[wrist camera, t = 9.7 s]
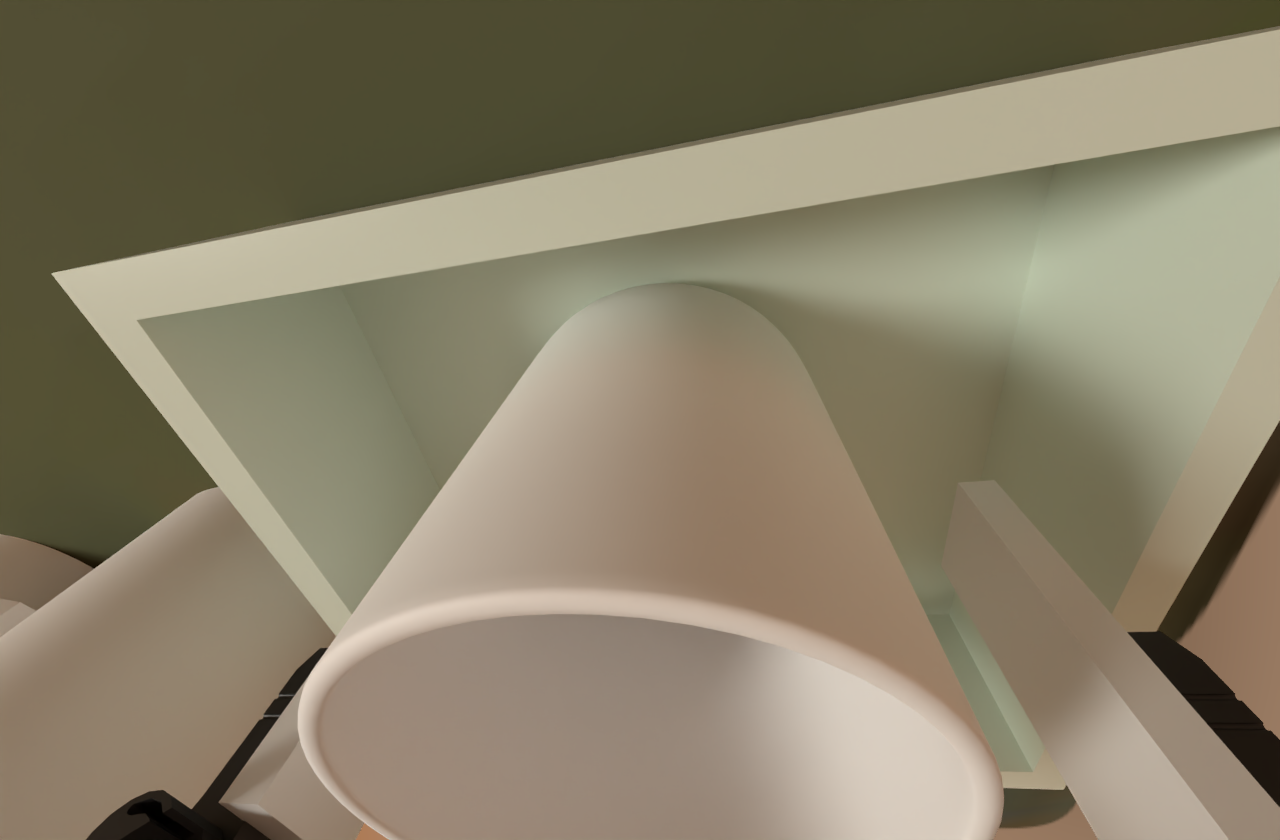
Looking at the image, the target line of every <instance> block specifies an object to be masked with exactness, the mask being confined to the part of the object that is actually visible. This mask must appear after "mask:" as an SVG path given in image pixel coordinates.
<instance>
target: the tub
mask: <svg viewBox="0 0 1280 840" xmlns="http://www.w3.org/2000/svg"><path fill="white" fill-rule="evenodd" d="M51 274H52V275H53V276H54V278H55V279H56V280H57V281H58V283H59V284H60V285H61V287H62V288H63V289H64V290H65V292H66V293H67V294H68V295H69V297H70V298H71V299H72V301H73V302H74V303H75V304H76V306H77V307H78V308H79V309H80V311H81V312H82V313H83V315H84V316H85V317H86V318H87V320H88V321H89V322H90V323H91V325H92V326H93V327H94V329H95V330H96V331H97V332H98V334H99V335H100V336H101V337H102V339H103V340H104V341H105V343H106V344H107V345H108V346H109V348H110V349H111V350H112V352H113V353H114V354H115V355H116V357H117V358H118V359H119V360H120V362H121V363H122V364H123V366H124V367H125V368H126V369H127V371H128V372H129V373H130V374H131V376H132V377H133V378H134V380H135V381H136V382H137V383H138V385H139V386H140V387H141V388H142V390H143V391H144V392H145V394H146V395H147V396H148V397H149V399H150V400H151V401H152V402H153V404H154V405H155V406H156V408H157V409H158V410H159V411H160V413H161V414H162V415H163V416H164V418H165V419H166V420H167V422H168V423H169V424H170V425H171V427H172V428H173V429H174V430H175V432H176V433H177V434H178V436H179V437H180V438H181V439H182V441H183V442H184V443H185V444H186V446H187V447H188V448H189V450H190V451H191V452H192V453H193V455H194V456H195V457H196V458H197V460H198V461H199V462H200V464H201V465H202V466H203V467H204V469H205V470H206V471H207V472H208V474H209V475H210V476H211V478H212V479H213V480H214V481H215V483H216V484H217V485H218V486H219V488H220V489H221V490H222V492H223V493H224V494H225V495H226V497H227V498H228V499H229V500H230V502H231V503H232V504H233V506H234V507H235V508H236V509H237V511H238V512H239V513H240V514H241V516H242V517H243V518H244V520H245V521H246V522H247V523H248V525H249V526H250V527H251V528H252V530H253V531H254V532H255V534H256V535H257V536H258V537H259V539H260V540H261V541H262V542H263V544H264V545H265V546H266V548H267V549H268V550H269V551H270V553H271V554H272V555H273V556H274V558H275V559H276V560H277V562H278V563H279V564H280V565H281V567H282V568H283V569H284V570H285V572H286V573H287V574H288V576H289V577H290V578H291V579H292V581H293V582H294V583H295V584H296V586H297V587H298V588H299V590H300V591H301V592H302V593H303V595H304V596H305V597H306V598H307V600H308V601H309V602H310V604H311V605H312V606H313V607H314V609H315V610H316V611H317V613H318V614H319V615H320V616H321V618H322V619H323V620H324V621H325V623H326V624H327V625H328V627H329V628H330V629H331V630H332V632H333V633H334V634H335V635H336V636H337V635H338V633H339V632H340V631H341V629H342V628H343V626H344V625H345V624H346V622H347V621H348V619H349V618H350V617H351V615H352V614H353V612H354V611H355V610H356V608H357V607H358V605H359V604H360V603H361V601H362V600H363V598H364V597H365V596H366V594H367V593H368V591H369V590H370V589H371V587H372V586H373V584H374V583H375V582H376V580H377V579H378V577H379V576H380V575H381V573H382V572H383V570H384V569H385V568H386V566H387V565H388V563H389V562H390V561H391V559H392V558H393V556H394V555H395V554H396V552H397V551H398V549H399V548H400V547H401V545H402V544H403V542H404V541H405V540H406V538H407V537H408V535H409V534H410V533H411V531H412V530H413V528H414V527H415V526H416V524H417V523H418V521H419V520H420V519H421V517H422V516H423V514H424V513H425V512H426V510H427V509H428V507H429V506H430V505H431V503H432V502H433V500H434V499H435V498H436V496H437V495H438V493H439V492H440V491H441V489H442V488H443V486H444V485H445V484H446V482H447V481H448V479H449V478H450V477H451V475H452V474H453V472H454V471H455V470H456V468H457V467H458V465H459V464H460V463H461V461H462V460H463V458H464V457H465V456H466V454H467V453H468V451H469V450H470V449H471V447H472V446H473V444H474V443H475V442H476V440H477V439H478V437H479V436H480V435H481V433H482V432H483V430H484V429H485V428H486V426H487V425H488V423H489V422H490V421H491V419H492V418H493V416H494V415H495V414H496V412H497V411H498V409H499V408H500V407H501V405H502V404H503V402H504V401H505V400H506V398H507V397H508V395H509V394H510V393H511V391H512V390H513V388H514V387H515V386H516V384H517V383H518V381H519V380H520V379H521V377H522V376H523V374H524V373H525V372H526V370H527V369H528V367H529V366H530V365H531V363H532V362H533V360H534V359H535V358H536V356H537V355H538V354H539V352H540V351H541V350H542V348H543V347H544V346H545V344H546V343H547V342H548V340H549V339H550V338H551V337H552V336H553V335H554V333H555V332H556V331H557V330H558V329H559V328H560V327H561V326H562V325H563V324H564V323H565V322H566V321H568V320H569V319H570V318H571V317H572V316H573V315H575V314H576V313H577V312H579V311H580V310H582V309H583V308H585V307H586V306H588V305H589V304H591V303H593V302H595V301H597V300H599V299H600V298H602V297H604V296H607V295H609V294H612V293H614V292H617V291H620V290H624V289H627V288H630V287H635V286H641V285H646V284H657V283H679V284H688V285H695V286H700V287H704V288H709V289H712V290H715V291H718V292H721V293H724V294H727V295H729V296H731V297H733V298H736V299H738V300H740V301H741V302H743V303H745V304H747V305H748V306H750V307H752V308H753V309H755V310H756V311H757V312H759V313H760V314H761V315H763V316H764V317H765V318H766V319H767V320H769V321H770V322H771V323H772V324H773V325H774V326H775V327H776V328H777V329H778V330H779V331H780V332H781V333H782V334H783V335H784V336H785V338H786V339H787V340H788V341H789V343H790V344H791V345H792V347H793V348H794V350H795V351H796V353H797V354H798V356H799V357H800V359H801V361H802V363H803V364H804V366H805V368H806V370H807V372H808V374H809V376H810V378H811V380H812V382H813V384H814V386H815V388H816V390H817V392H818V394H819V396H820V398H821V400H822V402H823V404H824V406H825V408H826V410H827V412H828V414H829V416H830V419H831V421H832V423H833V425H834V427H835V429H836V431H837V433H838V435H839V437H840V439H841V441H842V443H843V445H844V447H845V449H846V451H847V453H848V455H849V458H850V460H851V462H852V464H853V466H854V468H855V470H856V472H857V474H858V476H859V478H860V480H861V482H862V484H863V486H864V488H865V490H866V492H867V494H868V497H869V499H870V501H871V503H872V505H873V507H874V509H875V511H876V513H877V515H878V517H879V519H880V521H881V523H882V525H883V527H884V529H885V531H886V533H887V536H888V538H889V540H890V542H891V544H892V546H893V548H894V550H895V552H896V554H897V556H898V558H899V560H900V562H901V564H902V566H903V568H904V570H905V572H906V575H907V577H908V579H909V581H910V583H911V585H912V587H913V589H914V591H915V593H916V595H917V597H918V599H919V601H920V603H921V605H922V607H923V609H924V611H925V614H926V616H927V618H928V620H929V622H930V624H931V626H932V628H933V630H934V632H935V634H936V636H937V638H938V640H939V642H940V644H941V646H942V648H943V650H944V653H945V655H946V657H947V659H948V661H949V663H950V665H951V667H952V669H953V671H954V673H955V675H956V677H957V679H958V681H959V683H960V685H961V687H962V689H963V692H964V694H965V696H966V698H967V700H968V702H969V704H970V706H971V708H972V710H973V712H974V714H975V716H976V718H977V720H978V722H979V724H980V726H981V728H982V731H983V733H984V735H985V737H986V739H987V741H988V743H989V745H990V747H991V749H992V751H993V753H994V755H995V757H996V760H997V763H998V766H999V769H1000V772H1001V775H1002V782H1003V788H1024V789H1056V790H1064V788H1065V786H1066V785H1067V784H1066V783H1065V781H1064V779H1063V777H1062V776H1061V774H1060V772H1059V770H1058V769H1057V767H1056V765H1055V763H1054V762H1053V760H1052V758H1051V757H1050V755H1049V753H1048V751H1047V750H1046V748H1045V746H1044V744H1043V743H1042V741H1041V739H1040V737H1039V736H1038V734H1037V732H1036V730H1035V729H1034V727H1033V725H1032V723H1031V722H1030V720H1029V718H1028V716H1027V715H1026V713H1025V711H1024V709H1023V708H1022V706H1021V704H1020V702H1019V701H1018V699H1017V697H1016V696H1015V694H1014V692H1013V690H1012V689H1011V687H1010V685H1009V683H1008V682H1007V680H1006V678H1005V676H1004V675H1003V673H1002V671H1001V669H1000V668H999V666H998V664H997V662H996V661H995V659H994V657H993V655H992V654H991V652H990V650H989V648H988V647H987V645H986V643H985V641H984V640H983V638H982V636H981V634H980V633H979V631H978V629H977V628H976V626H975V624H974V622H973V621H972V619H971V617H970V615H969V614H968V612H967V610H966V608H965V607H964V605H963V603H962V601H961V600H960V598H959V596H958V594H957V593H956V591H955V589H954V587H953V586H952V584H951V582H950V580H949V579H948V577H947V575H946V573H945V572H944V570H943V568H942V567H941V563H942V558H943V554H944V549H945V544H946V539H947V534H948V529H949V524H950V519H951V514H952V510H953V505H954V500H955V495H956V490H957V485H958V483H961V482H975V481H990V480H995V481H996V482H997V484H998V485H999V486H1000V487H1001V488H1002V489H1003V490H1004V492H1005V493H1006V494H1007V495H1008V496H1009V497H1010V498H1011V500H1012V501H1013V502H1014V503H1015V504H1016V505H1017V506H1018V508H1019V509H1020V510H1021V511H1022V512H1023V513H1024V515H1025V516H1026V517H1027V518H1028V519H1029V520H1030V521H1031V523H1032V524H1033V525H1034V526H1035V527H1036V528H1037V529H1038V531H1039V532H1040V533H1041V534H1042V535H1043V536H1044V537H1045V539H1046V540H1047V541H1048V542H1049V543H1050V544H1051V546H1052V547H1053V548H1054V549H1055V550H1056V551H1057V552H1058V554H1059V555H1060V556H1061V557H1062V558H1063V559H1064V560H1065V562H1066V563H1067V564H1068V565H1069V566H1070V567H1071V568H1072V570H1073V571H1074V572H1075V573H1076V574H1077V575H1078V576H1079V578H1080V579H1081V580H1082V581H1083V582H1084V583H1085V585H1086V586H1087V587H1088V588H1089V589H1090V590H1091V591H1092V593H1093V594H1094V595H1095V596H1096V597H1097V598H1098V599H1099V601H1100V602H1101V603H1102V604H1103V605H1104V606H1105V607H1106V609H1107V610H1108V611H1109V612H1110V613H1111V614H1112V616H1113V617H1114V618H1115V619H1116V620H1117V621H1118V622H1119V624H1120V625H1121V626H1122V627H1123V628H1124V629H1125V630H1126V632H1156V631H1157V629H1158V627H1159V626H1160V624H1161V622H1162V621H1163V619H1164V617H1165V616H1166V614H1167V612H1168V610H1169V609H1170V607H1171V605H1172V604H1173V602H1174V600H1175V598H1176V597H1177V595H1178V593H1179V592H1180V590H1181V588H1182V586H1183V585H1184V583H1185V581H1186V580H1187V578H1188V576H1189V575H1190V573H1191V571H1192V569H1193V568H1194V566H1195V564H1196V563H1197V561H1198V559H1199V557H1200V556H1201V554H1202V552H1203V551H1204V549H1205V547H1206V545H1207V544H1208V542H1209V540H1210V539H1211V537H1212V535H1213V534H1214V532H1215V530H1216V528H1217V527H1218V525H1219V523H1220V522H1221V520H1222V518H1223V516H1224V515H1225V513H1226V511H1227V510H1228V508H1229V506H1230V504H1231V503H1232V501H1233V499H1234V498H1235V496H1236V494H1237V493H1238V491H1239V489H1240V487H1241V486H1242V484H1243V482H1244V481H1245V479H1246V477H1247V475H1248V474H1249V472H1250V470H1251V469H1252V467H1253V465H1254V463H1255V462H1256V460H1257V458H1258V457H1259V455H1260V453H1261V452H1262V450H1263V448H1264V446H1265V445H1266V443H1267V441H1268V440H1269V438H1270V436H1271V434H1272V433H1273V431H1274V429H1275V428H1276V426H1277V424H1278V422H1279V421H1280V26H1278V27H1273V28H1267V29H1262V30H1257V31H1251V32H1246V33H1240V34H1235V35H1230V36H1224V37H1219V38H1214V39H1208V40H1203V41H1197V42H1192V43H1187V44H1181V45H1176V46H1171V47H1165V48H1160V49H1154V50H1149V51H1144V52H1138V53H1133V54H1128V55H1122V56H1117V57H1112V58H1106V59H1101V60H1096V61H1091V62H1086V63H1081V64H1076V65H1071V66H1066V67H1061V68H1056V69H1051V70H1046V71H1041V72H1036V73H1031V74H1026V75H1021V76H1016V77H1011V78H1006V79H1001V80H996V81H991V82H986V83H981V84H976V85H971V86H966V87H961V88H956V89H951V90H946V91H941V92H936V93H931V94H926V95H921V96H916V97H911V98H906V99H901V100H896V101H891V102H886V103H881V104H876V105H871V106H866V107H861V108H856V109H851V110H846V111H841V112H836V113H831V114H826V115H821V116H816V117H811V118H806V119H801V120H796V121H791V122H786V123H782V124H777V125H772V126H767V127H762V128H757V129H752V130H747V131H742V132H737V133H732V134H727V135H722V136H717V137H712V138H707V139H702V140H697V141H692V142H687V143H682V144H677V145H672V146H667V147H662V148H657V149H652V150H647V151H642V152H637V153H632V154H627V155H622V156H617V157H612V158H607V159H602V160H597V161H592V162H587V163H582V164H577V165H572V166H567V167H562V168H557V169H552V170H547V171H542V172H537V173H532V174H527V175H522V176H517V177H512V178H507V179H502V180H497V181H492V182H487V183H482V184H477V185H472V186H467V187H462V188H457V189H452V190H447V191H442V192H437V193H432V194H427V195H422V196H417V197H412V198H407V199H402V200H397V201H392V202H387V203H382V204H377V205H372V206H367V207H362V208H357V209H352V210H347V211H342V212H337V213H332V214H327V215H322V216H317V217H312V218H307V219H302V220H297V221H292V222H288V223H283V224H278V225H274V226H269V227H264V228H260V229H255V230H251V231H246V232H241V233H237V234H232V235H227V236H223V237H218V238H213V239H209V240H204V241H199V242H195V243H190V244H185V245H181V246H176V247H171V248H167V249H162V250H157V251H153V252H148V253H143V254H139V255H134V256H129V257H125V258H120V259H116V260H111V261H106V262H102V263H97V264H92V265H88V266H83V267H78V268H74V269H69V270H64V271H60V272H55V273H51Z"/></svg>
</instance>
